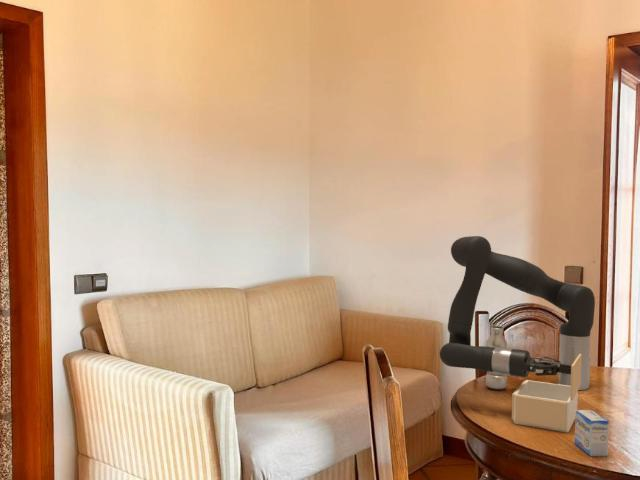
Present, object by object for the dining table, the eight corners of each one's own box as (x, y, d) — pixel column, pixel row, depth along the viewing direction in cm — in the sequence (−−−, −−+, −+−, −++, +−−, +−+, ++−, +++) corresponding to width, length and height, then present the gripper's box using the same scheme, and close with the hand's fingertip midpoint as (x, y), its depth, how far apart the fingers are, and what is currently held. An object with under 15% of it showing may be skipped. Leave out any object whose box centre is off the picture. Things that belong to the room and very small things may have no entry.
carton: (524, 405, 186) (525, 379, 186) (577, 414, 179) (578, 386, 178) (510, 423, 171) (511, 394, 171) (567, 433, 164) (568, 403, 164)
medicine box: (574, 444, 157) (574, 409, 157) (591, 443, 157) (592, 409, 157) (590, 456, 149) (591, 420, 149) (608, 456, 150) (609, 420, 149)
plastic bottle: (508, 392, 200) (509, 329, 198) (485, 390, 201) (487, 328, 200) (506, 386, 206) (507, 325, 205) (484, 385, 207) (485, 324, 206)
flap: (579, 353, 177) (581, 353, 177) (578, 385, 177) (580, 385, 177) (571, 365, 164) (573, 366, 164) (570, 400, 164) (572, 400, 164)
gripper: (505, 353, 173) (572, 362, 165) (516, 344, 185) (580, 351, 176) (504, 380, 174) (571, 390, 165) (516, 369, 185) (579, 378, 176)
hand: (575, 370), depth 170 cm, fingers closed
